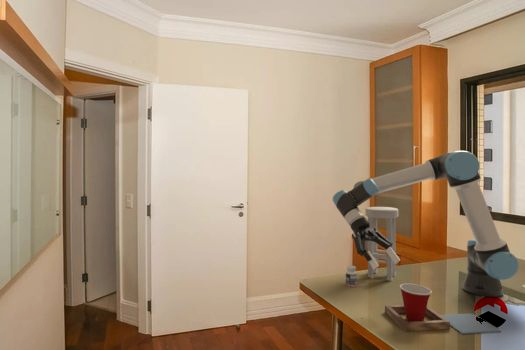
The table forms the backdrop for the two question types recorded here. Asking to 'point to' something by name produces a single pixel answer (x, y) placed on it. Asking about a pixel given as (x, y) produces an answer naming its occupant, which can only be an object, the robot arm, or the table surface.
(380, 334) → the table surface
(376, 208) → the stool
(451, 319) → the coaster
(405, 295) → the plastic cup
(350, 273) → the pill bottle
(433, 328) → the wooden frame
